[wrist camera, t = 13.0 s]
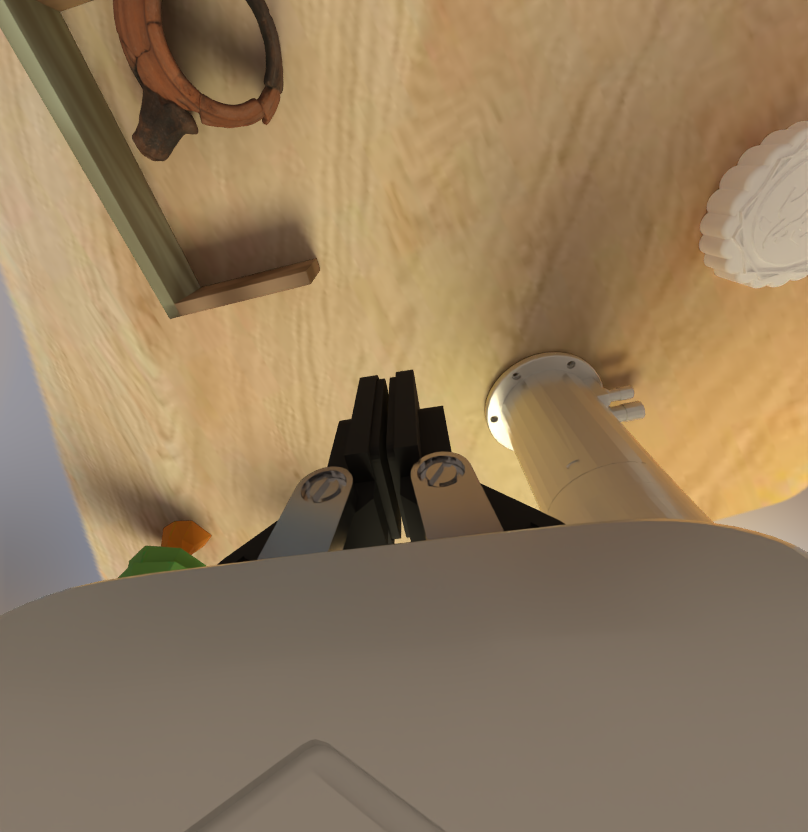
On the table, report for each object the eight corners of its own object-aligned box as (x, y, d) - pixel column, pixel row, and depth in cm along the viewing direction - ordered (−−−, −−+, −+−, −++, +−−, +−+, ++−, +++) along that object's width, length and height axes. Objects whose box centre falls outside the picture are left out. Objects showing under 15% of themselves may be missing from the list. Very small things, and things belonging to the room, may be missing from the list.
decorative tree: (141, 513, 50) (-114, 866, 24) (212, 507, 49) (28, 857, 24) (171, 559, 55) (-12, 889, 30) (236, 554, 55) (105, 882, 30)
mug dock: (208, -66, 23) (168, -118, 19) (320, 269, 34) (310, 284, 30) (34, -6, 24) (-41, -42, 20) (196, 300, 35) (169, 318, 31)
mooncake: (687, 177, 31) (719, 178, 28) (858, 82, 28) (914, 72, 25) (704, 304, 37) (732, 316, 34) (846, 236, 34) (891, 242, 31)
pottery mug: (140, -83, 23) (150, -157, 17) (282, 54, 30) (323, 33, 24) (80, 118, 26) (73, 112, 20) (223, 203, 32) (247, 216, 27)
